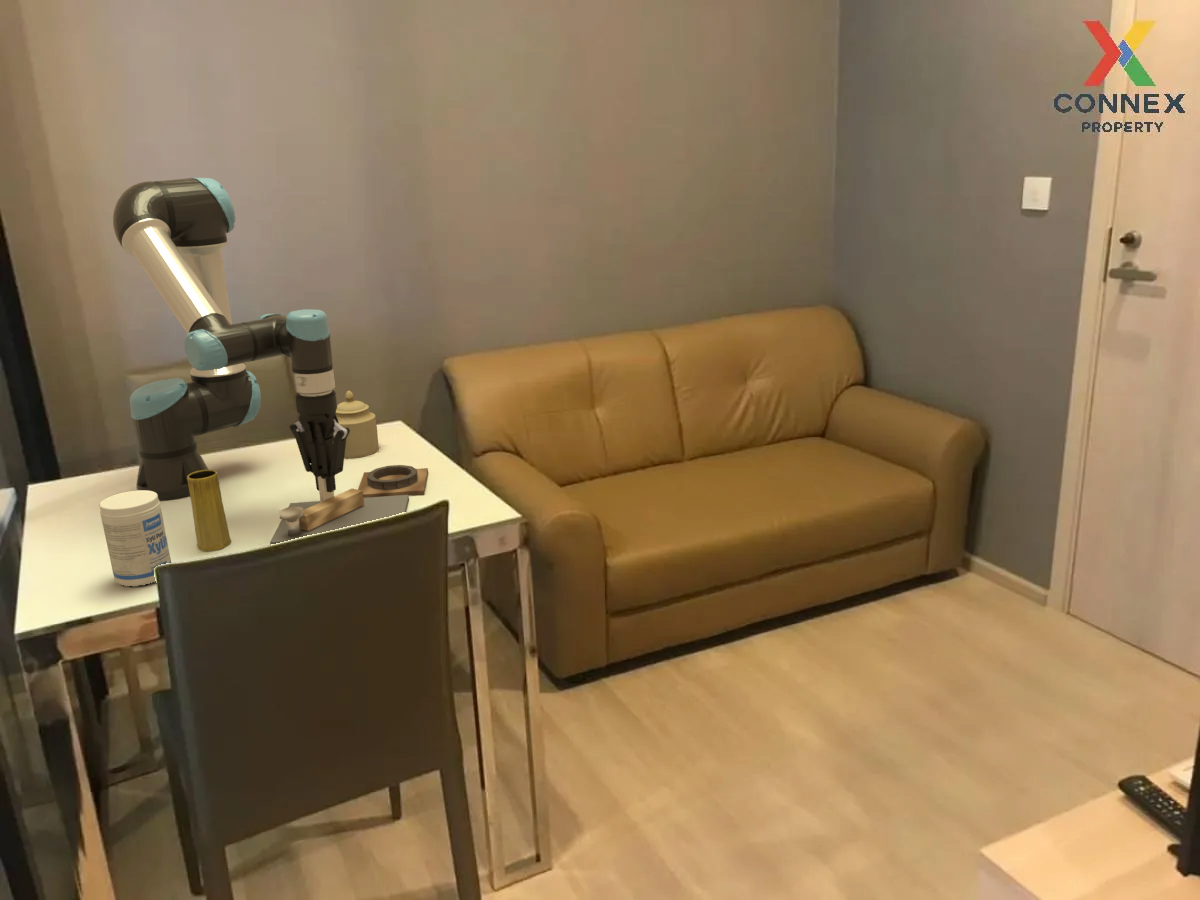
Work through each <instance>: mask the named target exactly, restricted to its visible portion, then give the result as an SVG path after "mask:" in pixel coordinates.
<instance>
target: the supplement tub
mask: <svg viewBox="0 0 1200 900" xmlns="http://www.w3.org/2000/svg"><path fill="white" fill-rule="evenodd" d="M99 508H100V518H101V522H102V527H103V531H104V537H105V541H106V545H107V551H108V555H109V561H110V565H111V570H112V574H113V578H114V581H115V582H116V583H117V584H118V585H120V586H123V585H124V586H123V587H129V586H133V587H139V586H138V585H143V586H145V585H144V584H148V585H151V584H153V583H152V582H154V583H156V582H155V577H154V568H155V567H156V566H158V565H161V564H166V563H171V564H172V559H171V553H170V550H169V549H170V548H169V544H168V537H167V533H166V527H165V523H164V517H163V512H162V506H161V500H159V499H158V495H157V493H155V492H153V491H147V490H138V491H137V490H129V491H125V492H120V493H116V494H113V495H111V496H108V497H106V498H104V499H103V500H102V501H101V502H100V503H99ZM150 583H151V584H150Z"/></svg>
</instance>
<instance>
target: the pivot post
mask: <svg viewBox="0 0 1200 900" xmlns="http://www.w3.org/2000/svg"><path fill="white" fill-rule="evenodd" d="M286 524H287V531H288V536H290V537H296V536H299V535H301V528H300V521H299V518H298V519H295V520H286Z"/></svg>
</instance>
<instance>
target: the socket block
mask: <svg viewBox="0 0 1200 900" xmlns="http://www.w3.org/2000/svg"><path fill="white" fill-rule="evenodd" d="M428 475H429V468H428V467H424V468H415V467H413V466H411V465H405V464H393V465H386V466H381V467H378V468H375V469H373V470H371V471H365V472H363V474H362V477H361V479H360V482H359V485H358V488H357V490H361V491H363V497H364V498H369V497H383V496H397V495H408V496H409V497H412V496H423V495H425V492H426V486H427V480H428Z"/></svg>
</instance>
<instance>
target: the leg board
mask: <svg viewBox="0 0 1200 900" xmlns="http://www.w3.org/2000/svg"><path fill="white" fill-rule="evenodd" d="M409 497H410V496H408V495H397V496H383V497H369V498H364V505H363V506H360V507H358V508H356V509H354V510H352V511H350V512H348V513H345V514H343V515H341V516H339V517H337V518H335V519H333V520H331V521H328V522H326V523H324V524H322V525H320V526H318V527H316V528H313V529H311V530H309V531H306V530H302V529H301V535H299V536H296V537H290V536H288V531H287V524H286V520H282V519H281V521H280V522H279V523H278V526H277V527H276V530H275V532H274V533H273V535H272V538H271V539H270V541H269V545H271V544H276V543H280V542H284V541H288V540H291V539H295V538H299V537H303V536H307V535H312V534H317V533H322V532H326V531H330V530H335V529H339V528H343V527H347V526H351V525H356V524H360V523H364V522H367V521H372V520H376V519H380V518H384V517H389V516H392V515H396V514H399V513H402V512H406V513H407V509H408V505H409V501H410V498H409ZM318 503H320V500H316V501H315V500H314V501H303V502H302V501H301V502H299V501H298V502H290V503H289V505H288V507H294V506H297V507H302V508H303V510H305V509H307V508H309V507H311V506H314V505H316V504H318Z"/></svg>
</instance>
